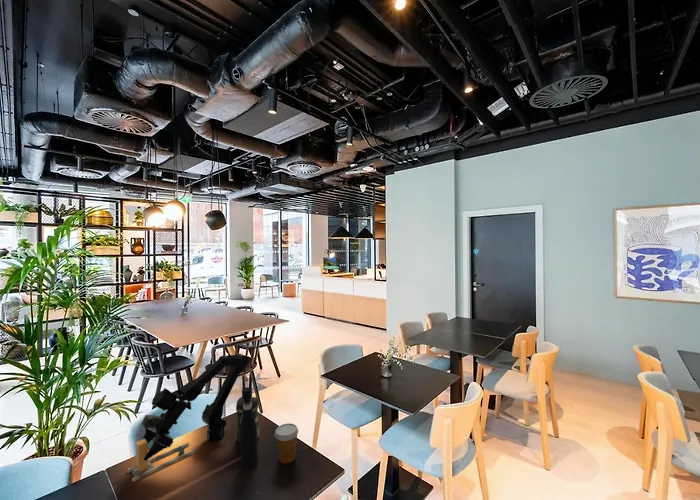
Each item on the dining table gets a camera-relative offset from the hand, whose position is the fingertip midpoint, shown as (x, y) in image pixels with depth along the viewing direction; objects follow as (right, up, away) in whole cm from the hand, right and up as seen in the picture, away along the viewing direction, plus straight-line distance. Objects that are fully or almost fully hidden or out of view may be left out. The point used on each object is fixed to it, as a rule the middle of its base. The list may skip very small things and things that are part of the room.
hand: (141, 454), depth 121 cm
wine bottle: (+41, -7, +4) cm, 41 cm away
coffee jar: (+35, -7, +21) cm, 41 cm away
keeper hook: (+10, -6, +10) cm, 16 cm away
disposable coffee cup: (+55, -6, +7) cm, 56 cm away
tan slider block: (0, -6, 0) cm, 6 cm away
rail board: (+5, -8, +5) cm, 11 cm away
